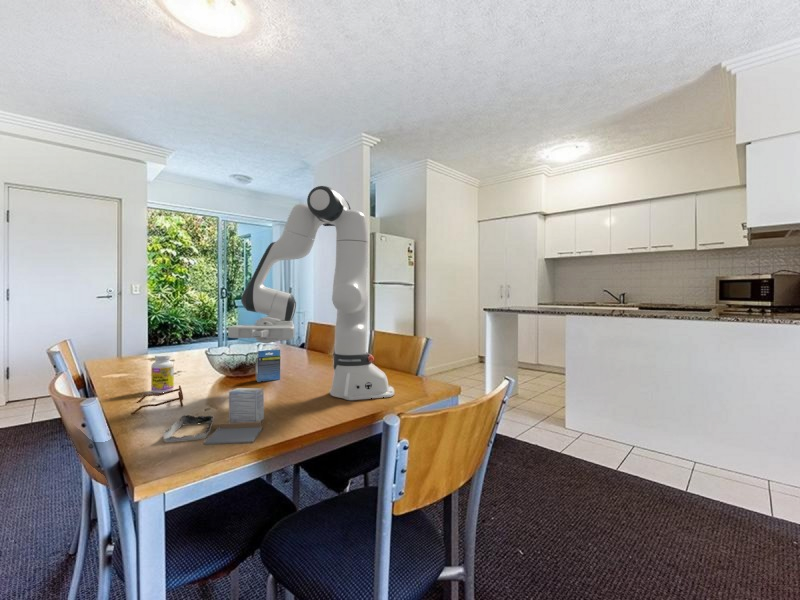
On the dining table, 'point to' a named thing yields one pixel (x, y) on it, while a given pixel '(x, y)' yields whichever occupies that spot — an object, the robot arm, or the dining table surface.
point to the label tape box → (268, 366)
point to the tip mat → (235, 433)
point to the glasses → (162, 402)
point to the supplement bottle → (162, 374)
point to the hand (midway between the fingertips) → (256, 334)
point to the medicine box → (246, 405)
